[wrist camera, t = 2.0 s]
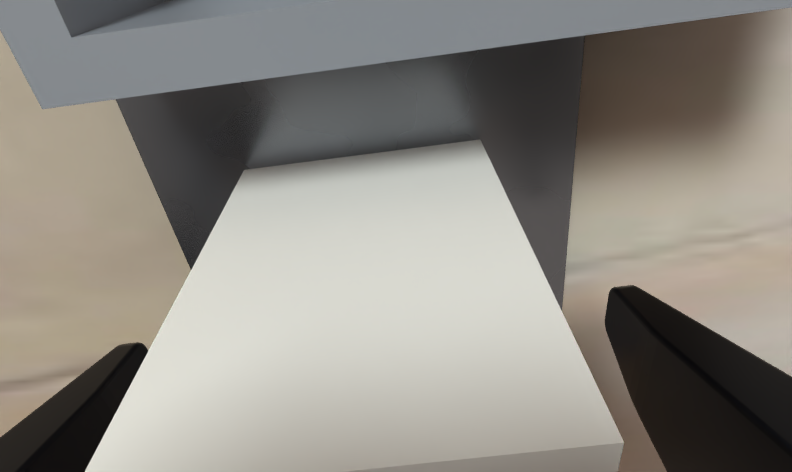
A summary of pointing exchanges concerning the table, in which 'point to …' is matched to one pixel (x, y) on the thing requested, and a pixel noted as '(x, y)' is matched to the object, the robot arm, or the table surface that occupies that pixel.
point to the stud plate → (375, 131)
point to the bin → (289, 36)
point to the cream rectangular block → (365, 334)
